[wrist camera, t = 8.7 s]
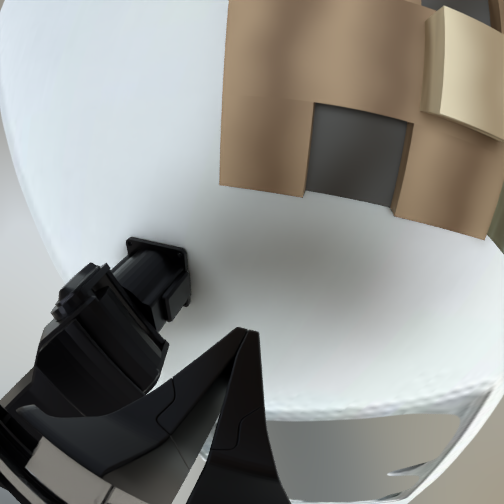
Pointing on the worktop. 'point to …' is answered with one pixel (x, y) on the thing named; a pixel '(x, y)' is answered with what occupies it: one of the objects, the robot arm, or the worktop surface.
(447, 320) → the worktop surface
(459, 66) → the birch block
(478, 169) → the board
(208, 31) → the worktop surface
